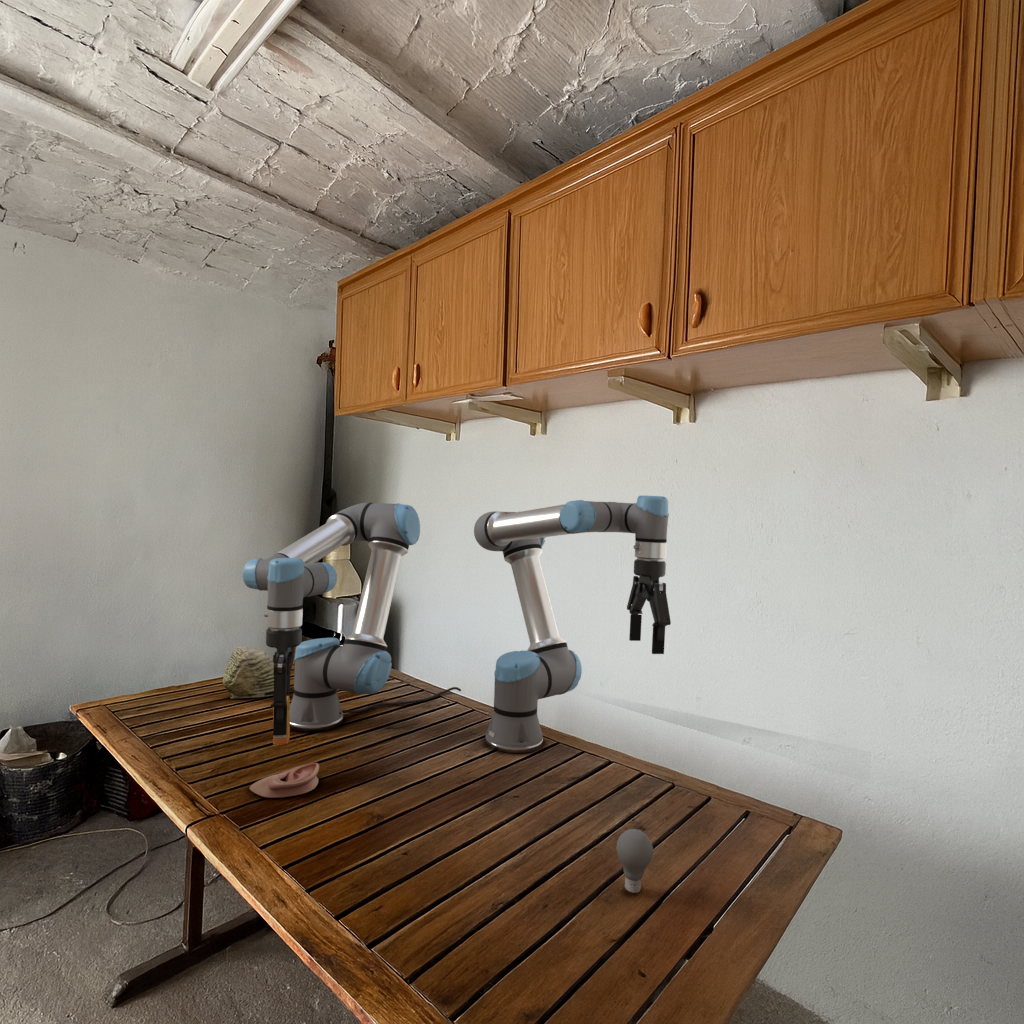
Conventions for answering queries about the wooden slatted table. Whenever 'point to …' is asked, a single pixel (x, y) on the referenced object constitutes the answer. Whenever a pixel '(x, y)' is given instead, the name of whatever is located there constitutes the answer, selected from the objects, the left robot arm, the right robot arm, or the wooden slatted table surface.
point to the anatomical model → (288, 782)
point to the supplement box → (285, 738)
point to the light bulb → (634, 857)
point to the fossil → (249, 674)
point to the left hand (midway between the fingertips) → (280, 731)
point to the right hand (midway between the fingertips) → (645, 646)
